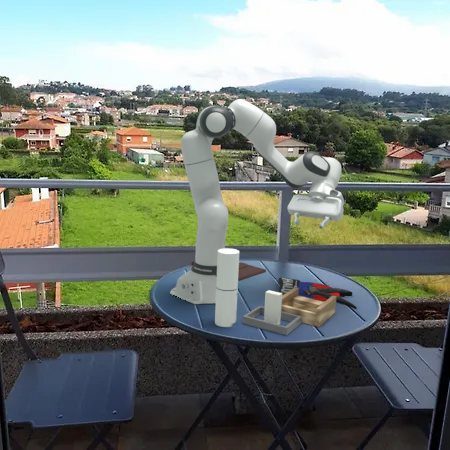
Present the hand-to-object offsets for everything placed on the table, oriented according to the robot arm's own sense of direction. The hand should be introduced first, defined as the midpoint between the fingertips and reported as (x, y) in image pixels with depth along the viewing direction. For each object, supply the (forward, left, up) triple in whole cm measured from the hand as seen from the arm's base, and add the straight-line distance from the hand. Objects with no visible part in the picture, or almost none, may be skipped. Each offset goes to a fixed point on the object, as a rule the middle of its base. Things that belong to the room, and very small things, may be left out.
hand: (308, 225), depth 172 cm
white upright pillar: (-2, -21, -31) cm, 37 cm away
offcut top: (+4, -4, -27) cm, 28 cm away
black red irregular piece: (-1, +16, -32) cm, 36 cm away
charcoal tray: (-2, -21, -31) cm, 38 cm away
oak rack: (+4, -6, -31) cm, 32 cm away
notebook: (-41, +25, -32) cm, 57 cm away
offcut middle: (+4, -4, -29) cm, 29 cm away
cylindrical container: (-16, -28, -32) cm, 45 cm away
